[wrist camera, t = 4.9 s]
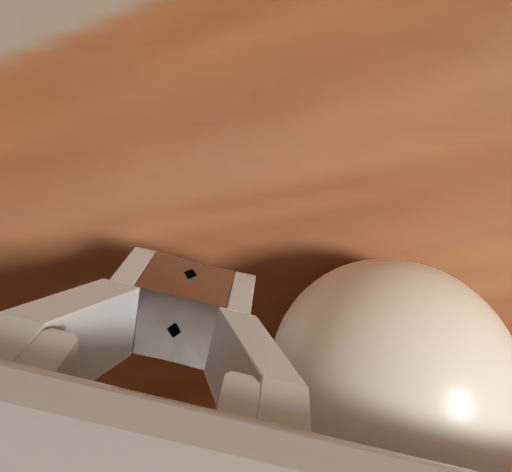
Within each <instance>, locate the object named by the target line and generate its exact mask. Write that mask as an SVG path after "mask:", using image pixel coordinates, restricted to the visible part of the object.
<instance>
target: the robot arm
mask: <svg viewBox="0 0 512 472" xmlns="http://www.w3.org/2000/svg"><path fill="white" fill-rule="evenodd" d="M234 274H235V275H234ZM255 280H256V276H255V275H252V274H247V273H243V272H238V271H236V272H235V271H233V270H229V269H224V268H220V267H215V266H211V265H206V264H202V263H197V262H195V261H191V260H188V259H184V258H180V257H176V256H173V255H169V254H165V253H161V252H157V251H155V250H151V249H146V248H142V247H135V248H134V249H133V250H132V251H131V252H130V254H129V255H128V256H127V257H126V259H125V260H124V261H123V263H122V264H121V265H120V266H119V268H118V269H117V270H116V271H115V273H114V274H113V275H112V277H111V278H110V279H109V280H108V279H99V280H96V281H93V282H90V283H87V284H84V285H81V286H78V287H75V288H72V289H68V290H65V291H62V292H59V293H56V294H53V295H50V296H47V297H44V298H41V299H37V300H34V301H31V302H28V303H25V304H22V305H19V306H16V307H13V308H10V309H6V310H3V311H0V472H479V471H475V470H471V469H467V468H462V467H458V466H454V465H450V464H445V463H441V462H437V461H432V460H428V459H424V458H420V457H415V456H411V455H407V454H403V453H398V452H394V451H390V450H386V449H381V448H377V447H373V446H369V445H364V444H360V443H356V442H352V441H347V440H343V439H339V438H334V437H330V436H326V435H322V434H317V433H313V432H311V420H310V401H309V387H308V386H307V385H306V383H305V382H304V381H303V379H302V378H301V377H300V375H299V374H298V372H297V371H296V370H295V368H294V367H293V366H292V364H291V363H290V361H289V360H288V359H287V357H286V356H285V355H284V353H283V352H282V350H281V349H280V348H279V346H278V345H277V344H276V342H275V341H274V339H273V338H272V337H271V335H270V334H269V333H268V331H267V330H266V329H265V327H264V326H263V324H262V323H261V322H260V320H259V319H258V318H257V316H255V315H251V308H252V301H253V294H254V287H255ZM229 294H230V295H229ZM132 353H134V354H139V355H143V356H148V357H153V358H158V359H162V360H167V361H171V362H175V363H179V364H182V365H186V366H190V367H194V368H197V369H201V370H204V374H205V377H206V379H207V382H208V385H209V388H210V390H211V393H212V396H213V398H214V401H215V404H216V407H215V409H211V408H207V407H202V406H198V405H194V404H190V403H185V402H181V401H177V400H173V399H168V398H164V397H160V396H156V395H151V394H147V393H143V392H138V391H134V390H130V389H126V388H121V387H117V386H113V385H109V384H105V383H100V382H96V381H94V380H95V379H97V378H98V377H100V376H101V375H103V374H104V373H106V372H107V371H109V370H110V369H112V368H113V367H115V366H116V365H117V364H119V363H120V362H122V361H123V360H125V359H126V358H128V357H129V356H131V355H132Z"/></svg>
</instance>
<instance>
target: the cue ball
mask: <svg viewBox="0 0 512 472" xmlns="http://www.w3.org/2000/svg"><path fill="white" fill-rule="evenodd" d="M274 341H275V342H276V344H277V345H278V346H279V348H280V349H281V350H282V352H283V353H284V355H285V356H286V357H287V359H288V360H289V361H290V363H291V364H292V366H293V367H294V368H295V370H296V371H297V372H298V374H299V375H300V377H301V378H302V379H303V381H304V382H305V383H306V385H307V386H308V387H309V401H310V420H311V432H313V433H317V434H322V435H326V436H330V437H334V438H339V439H343V440H347V441H352V442H356V443H360V444H364V445H369V446H373V447H377V448H381V449H386V450H390V451H394V452H398V453H403V454H407V455H411V456H415V457H420V458H424V459H428V460H432V461H437V462H441V463H445V464H450V465H454V466H458V467H462V468H467V469H471V470H475V471H479V472H509V471H510V470H511V469H512V336H511V334H510V333H509V331H508V330H507V328H506V326H505V325H504V323H503V322H502V321H501V319H500V318H499V317H498V315H497V314H496V313H495V311H494V310H493V309H492V308H491V307H490V306H489V305H488V304H487V303H486V302H485V301H484V300H483V299H482V298H481V297H480V296H479V295H478V294H477V293H476V292H474V291H473V290H472V289H470V288H469V287H467V286H466V285H465V284H463V283H462V282H460V281H459V280H457V279H456V278H454V277H452V276H450V275H448V274H446V273H444V272H442V271H440V270H438V269H436V268H433V267H430V266H427V265H424V264H422V263H417V262H412V261H408V260H401V259H391V258H376V259H368V260H361V261H357V262H353V263H349V264H346V265H343V266H341V267H338V268H336V269H334V270H332V271H330V272H328V273H326V274H324V275H323V276H321V277H320V278H318V279H317V280H315V281H314V282H313V283H312V284H311V285H309V286H308V287H307V288H306V289H305V290H303V291H302V293H301V294H300V295H299V296H298V297H297V298H296V299H295V300H294V302H293V303H292V305H291V306H290V308H289V309H288V311H287V312H286V314H285V315H284V317H283V319H282V321H281V324H280V326H279V328H278V331H277V333H276V336H275V340H274Z"/></svg>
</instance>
